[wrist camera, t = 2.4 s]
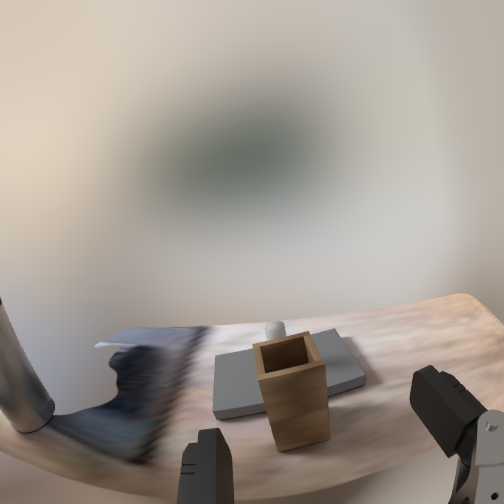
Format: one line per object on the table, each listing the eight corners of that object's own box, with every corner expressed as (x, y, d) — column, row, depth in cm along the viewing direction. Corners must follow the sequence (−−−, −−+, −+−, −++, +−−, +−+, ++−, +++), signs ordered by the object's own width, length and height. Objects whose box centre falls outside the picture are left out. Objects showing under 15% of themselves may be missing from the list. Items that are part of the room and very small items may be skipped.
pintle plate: (216, 419, 27) (195, 370, 25) (218, 364, 38) (203, 319, 36) (365, 384, 28) (366, 330, 26) (335, 337, 38) (330, 290, 36)
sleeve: (278, 452, 22) (257, 380, 19) (271, 416, 26) (252, 344, 24) (329, 439, 22) (325, 363, 19) (317, 405, 27) (308, 330, 24)
